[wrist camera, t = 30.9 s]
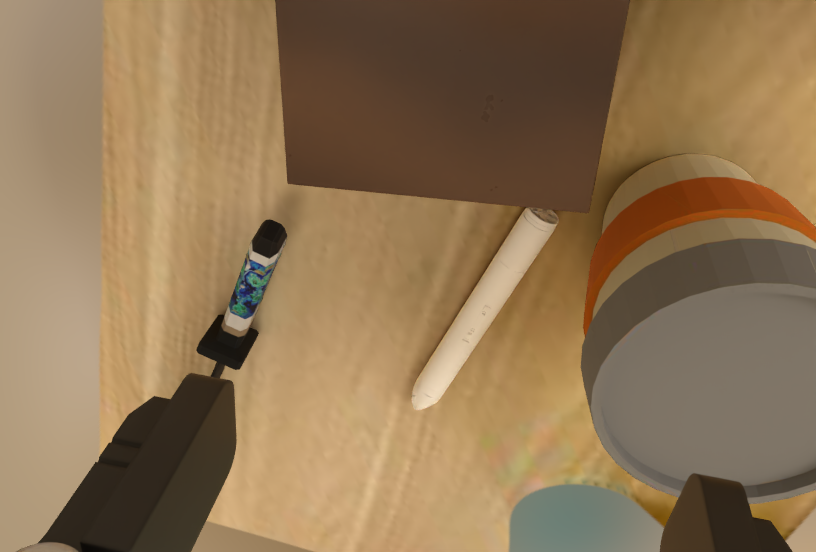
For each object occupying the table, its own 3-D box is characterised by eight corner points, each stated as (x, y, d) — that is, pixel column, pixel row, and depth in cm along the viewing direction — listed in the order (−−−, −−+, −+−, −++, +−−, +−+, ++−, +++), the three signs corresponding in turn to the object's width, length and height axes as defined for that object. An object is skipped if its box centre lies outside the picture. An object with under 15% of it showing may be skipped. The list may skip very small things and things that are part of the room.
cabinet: (328, -173, 34) (263, -163, 26) (628, -160, 32) (658, -144, 24) (335, 109, 41) (287, 184, 33) (579, 130, 40) (589, 213, 32)
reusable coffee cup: (597, 330, 47) (618, 523, 34) (546, 158, 41) (550, 315, 29) (811, 289, 43) (921, 489, 31) (789, 92, 37) (916, 241, 25)
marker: (430, 405, 53) (425, 428, 51) (404, 393, 52) (398, 416, 50) (559, 212, 43) (560, 232, 41) (527, 196, 42) (527, 216, 40)
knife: (280, 188, 43) (251, 230, 40) (325, 213, 43) (301, 257, 40) (158, 441, 62) (132, 484, 59) (190, 456, 63) (166, 500, 59)
